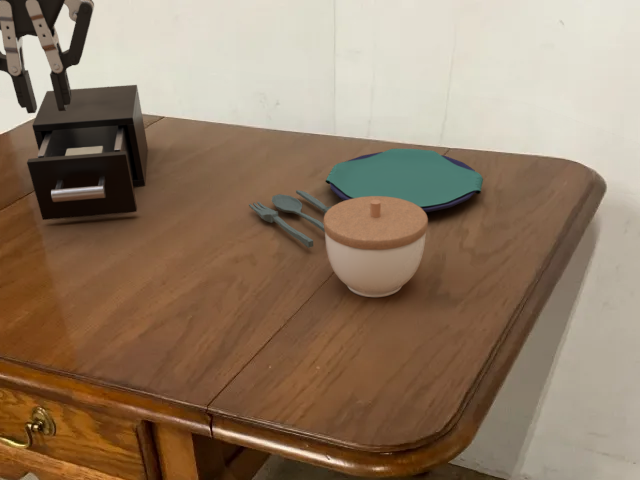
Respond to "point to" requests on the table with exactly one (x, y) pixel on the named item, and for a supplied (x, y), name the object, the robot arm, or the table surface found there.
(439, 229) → the table surface
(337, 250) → the trinket box
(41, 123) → the dark wood drawer unit
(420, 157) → the cutlery set
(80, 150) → the ivory upright block
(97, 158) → the open drawer with handle
